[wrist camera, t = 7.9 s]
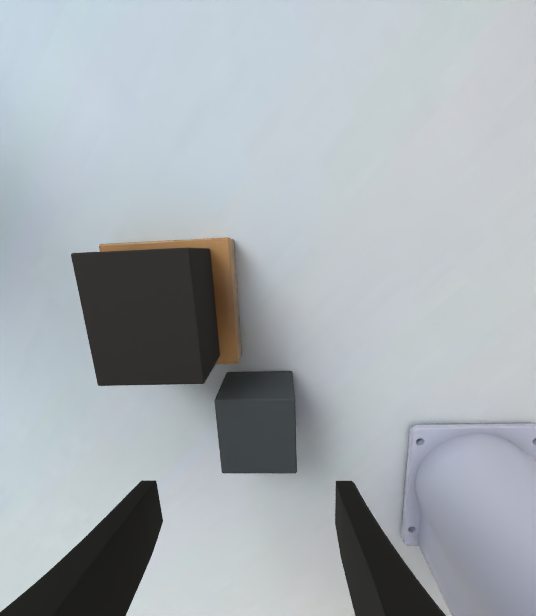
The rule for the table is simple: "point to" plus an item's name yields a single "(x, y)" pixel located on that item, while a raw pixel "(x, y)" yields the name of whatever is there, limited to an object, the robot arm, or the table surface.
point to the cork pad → (222, 283)
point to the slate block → (257, 422)
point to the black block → (149, 315)
